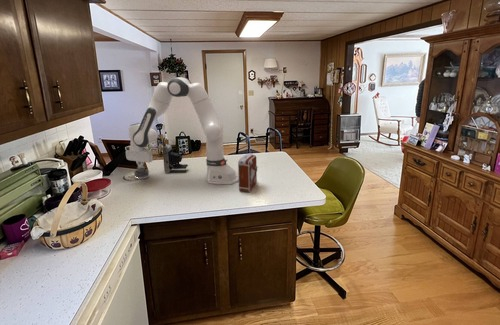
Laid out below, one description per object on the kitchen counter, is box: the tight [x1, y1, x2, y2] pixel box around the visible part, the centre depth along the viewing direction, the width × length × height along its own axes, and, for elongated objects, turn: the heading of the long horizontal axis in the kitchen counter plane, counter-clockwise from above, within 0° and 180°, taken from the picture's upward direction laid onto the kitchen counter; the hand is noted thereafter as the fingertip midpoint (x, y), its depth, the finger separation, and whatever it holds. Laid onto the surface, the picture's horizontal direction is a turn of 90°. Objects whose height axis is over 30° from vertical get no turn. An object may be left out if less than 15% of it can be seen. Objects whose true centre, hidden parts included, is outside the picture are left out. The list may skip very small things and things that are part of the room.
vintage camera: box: [162, 143, 189, 174], centre depth 205 cm, size 10×16×20 cm, turn 89°
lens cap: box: [136, 166, 146, 173], centre depth 196 cm, size 5×5×5 cm
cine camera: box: [237, 153, 259, 193], centre depth 174 cm, size 9×19×20 cm, turn 161°
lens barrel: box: [133, 168, 150, 180], centre depth 196 cm, size 9×9×4 cm
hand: (140, 167), depth 195 cm, fingers closed
